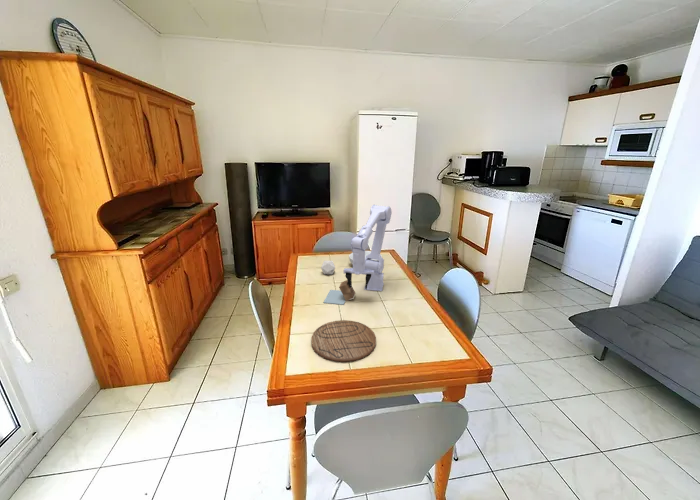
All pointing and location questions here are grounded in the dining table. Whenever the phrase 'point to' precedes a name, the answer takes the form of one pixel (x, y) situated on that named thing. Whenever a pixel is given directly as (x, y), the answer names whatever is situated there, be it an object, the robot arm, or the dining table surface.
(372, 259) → the serving bowl
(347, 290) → the block
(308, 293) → the dining table surface
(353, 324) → the trivet
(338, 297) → the mat
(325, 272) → the die
